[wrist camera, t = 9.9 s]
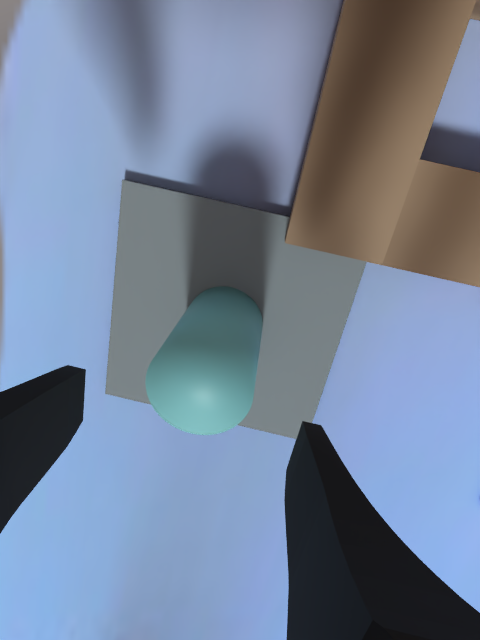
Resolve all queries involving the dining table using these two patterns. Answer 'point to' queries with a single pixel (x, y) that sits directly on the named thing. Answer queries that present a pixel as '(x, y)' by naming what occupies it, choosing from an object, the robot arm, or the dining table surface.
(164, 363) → the peg
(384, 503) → the dining table surface
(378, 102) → the holder block
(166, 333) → the slate mat
